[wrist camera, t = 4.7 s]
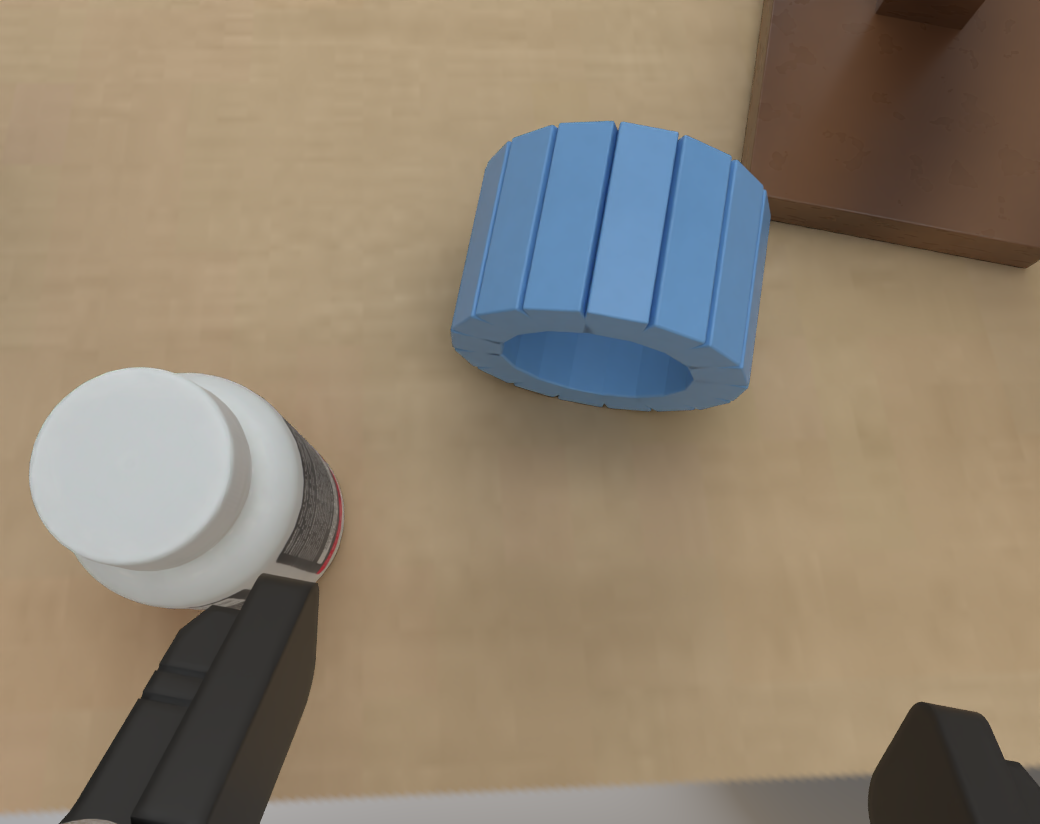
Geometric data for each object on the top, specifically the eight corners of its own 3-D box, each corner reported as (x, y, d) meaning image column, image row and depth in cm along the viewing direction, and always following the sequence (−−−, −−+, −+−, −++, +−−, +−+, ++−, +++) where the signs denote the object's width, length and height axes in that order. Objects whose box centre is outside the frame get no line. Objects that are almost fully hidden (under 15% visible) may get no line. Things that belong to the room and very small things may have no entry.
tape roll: (455, 379, 28) (444, 285, 20) (485, 236, 29) (486, 94, 21) (704, 427, 28) (791, 351, 20) (725, 282, 29) (814, 156, 21)
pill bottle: (260, 398, 28) (142, 279, 18) (383, 515, 27) (329, 455, 17) (128, 526, 26) (-70, 472, 17) (254, 651, 26) (120, 667, 16)
